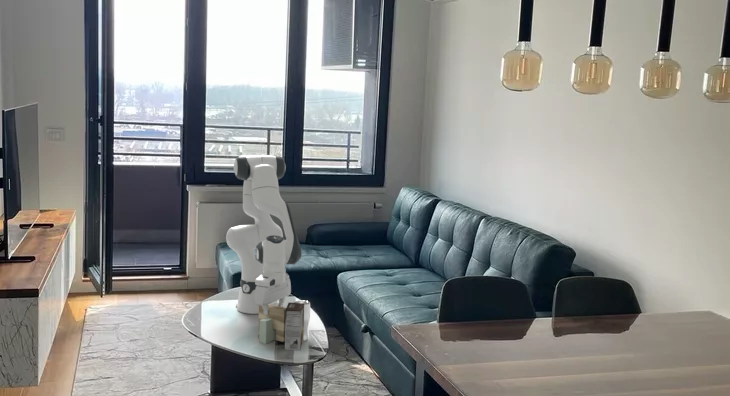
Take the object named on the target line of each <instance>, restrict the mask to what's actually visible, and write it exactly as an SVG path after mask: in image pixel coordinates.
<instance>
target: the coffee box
mask: <svg viewBox="0 0 730 396" xmlns="http://www.w3.org/2000/svg"><path fill="white" fill-rule="evenodd" d="M285 308H286V321H285V341H284V350H285V351H286V350H288V351H301V350H302V347H303V345H304V342H303V337H304V303H294V302H288V303H287V305H286V307H285Z"/></svg>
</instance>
